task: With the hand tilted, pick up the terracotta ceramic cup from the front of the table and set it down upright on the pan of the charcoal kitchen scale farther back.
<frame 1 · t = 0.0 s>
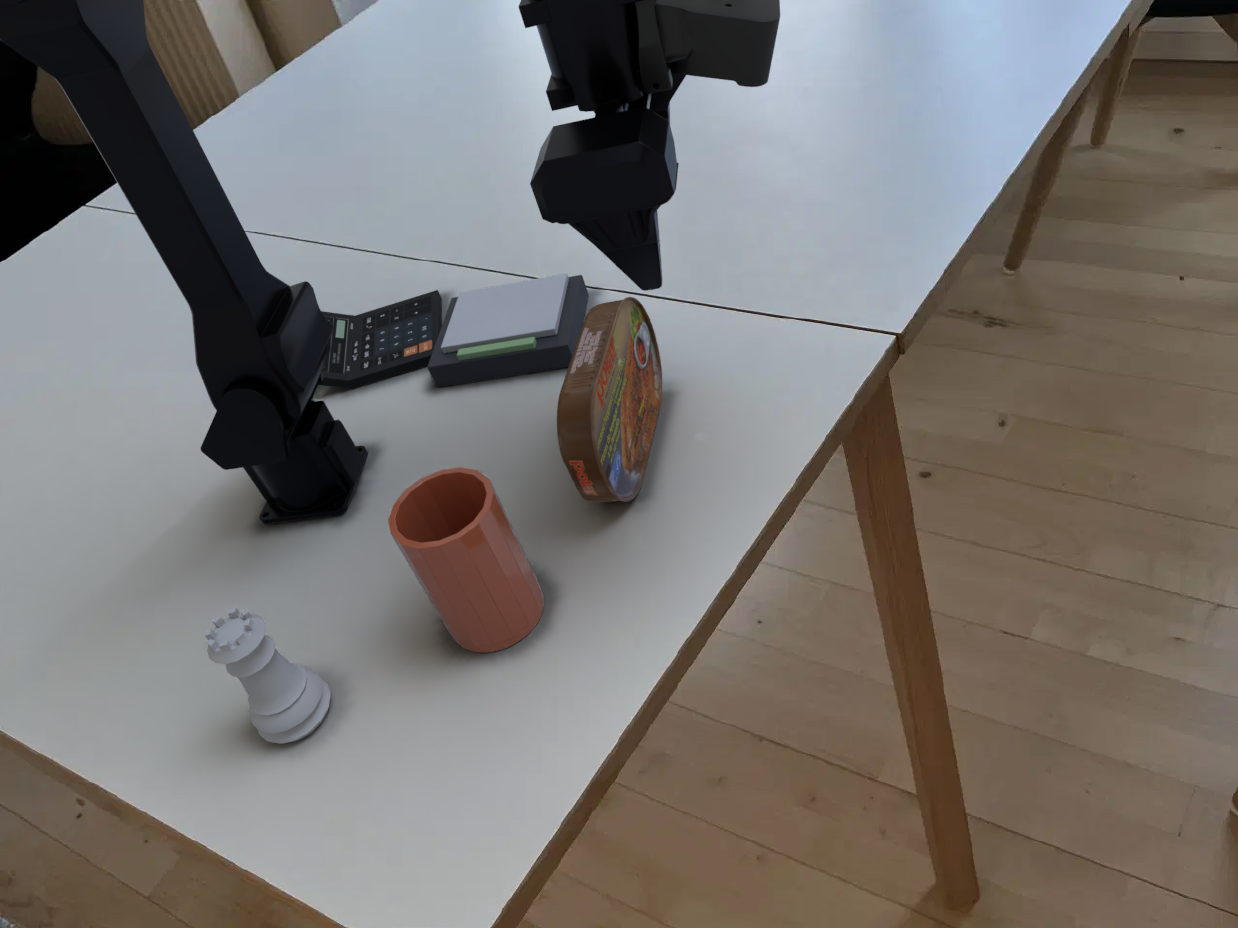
hand: (658, 240, 59), 15 cm above the table, tool pointing down, fingers open, 9 cm apart
calculator: (375, 351, 87), on the table
rook chess piece: (299, 715, 61), on the table
tin: (630, 447, 70), on the table
cup: (497, 612, 62), on the table
scale: (514, 340, 82), on the table
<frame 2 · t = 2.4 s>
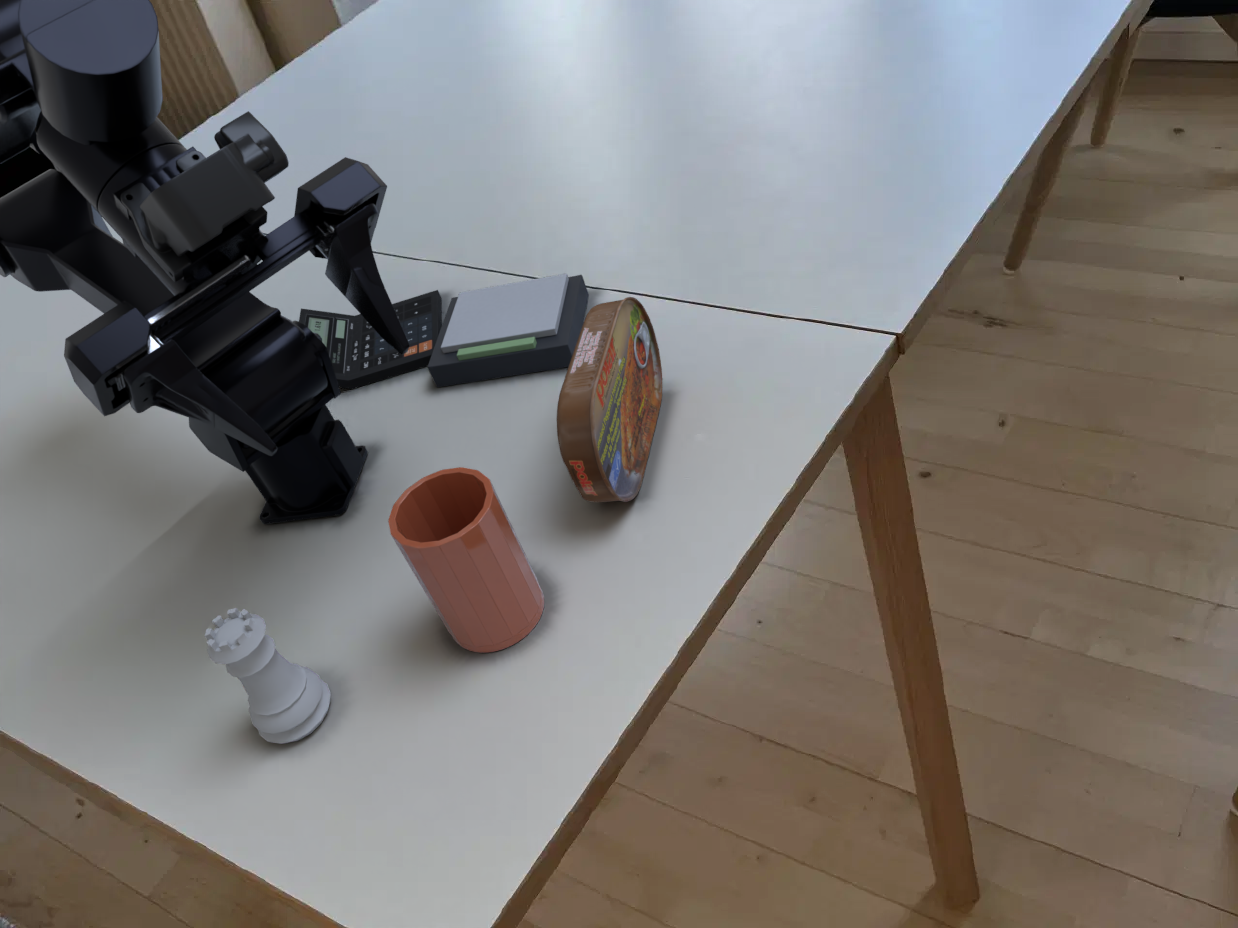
hand: (342, 399, 58), 14 cm above the table, tool tilted 45°, fingers open, 9 cm apart
nothing on the table moved.
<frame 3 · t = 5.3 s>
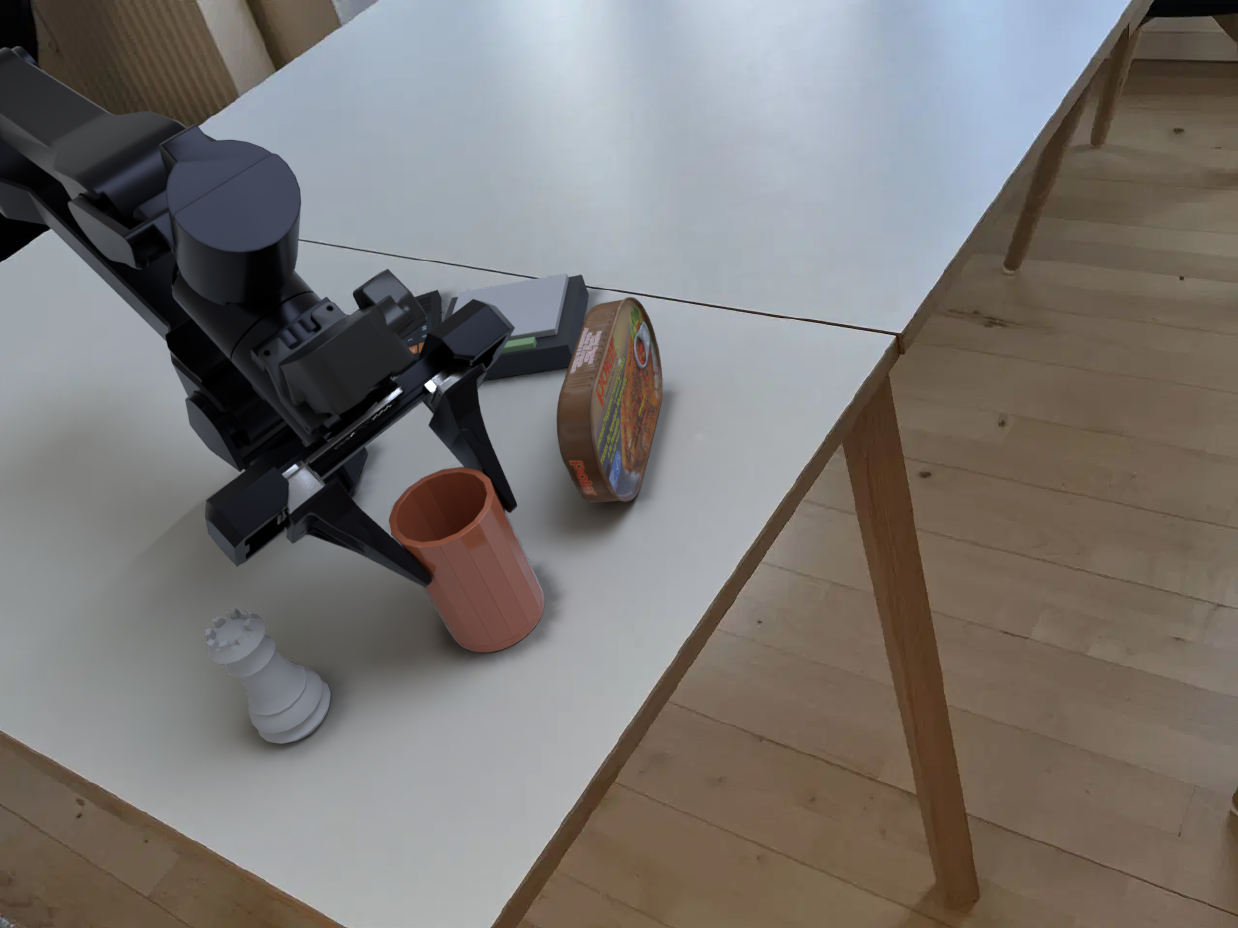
hand: (472, 546, 57), 7 cm above the table, tool tilted 45°, fingers closed on cup, 6 cm apart
cup: (497, 611, 62), on the table, touching gripper
everything else where it was.
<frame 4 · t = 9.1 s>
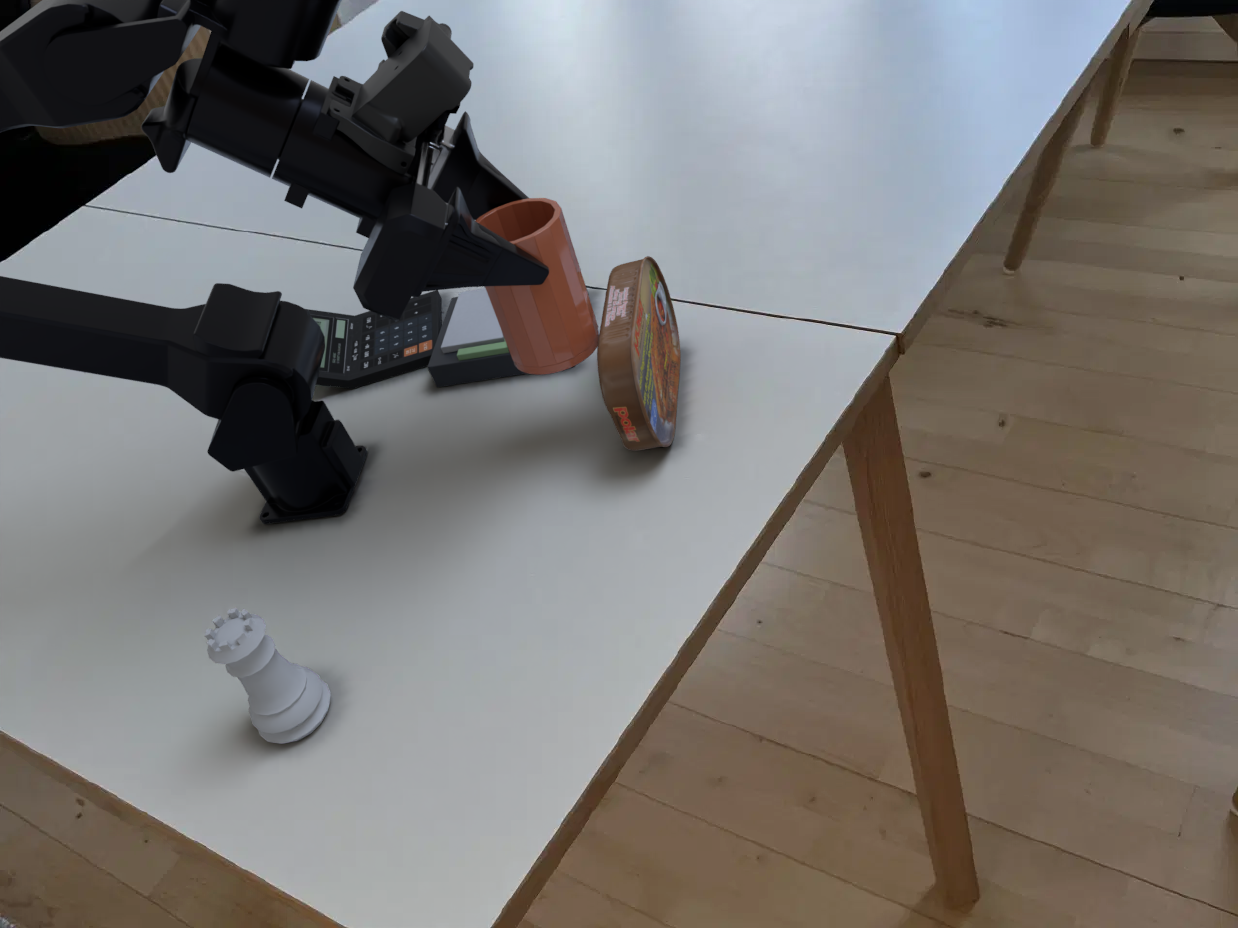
hand: (545, 249, 64), 14 cm above the table, tool tilted 45°, fingers closed on cup, 6 cm apart
tin: (656, 402, 73), on the table
cup: (556, 348, 68), point 7 cm above the table, touching gripper
everything else where it was.
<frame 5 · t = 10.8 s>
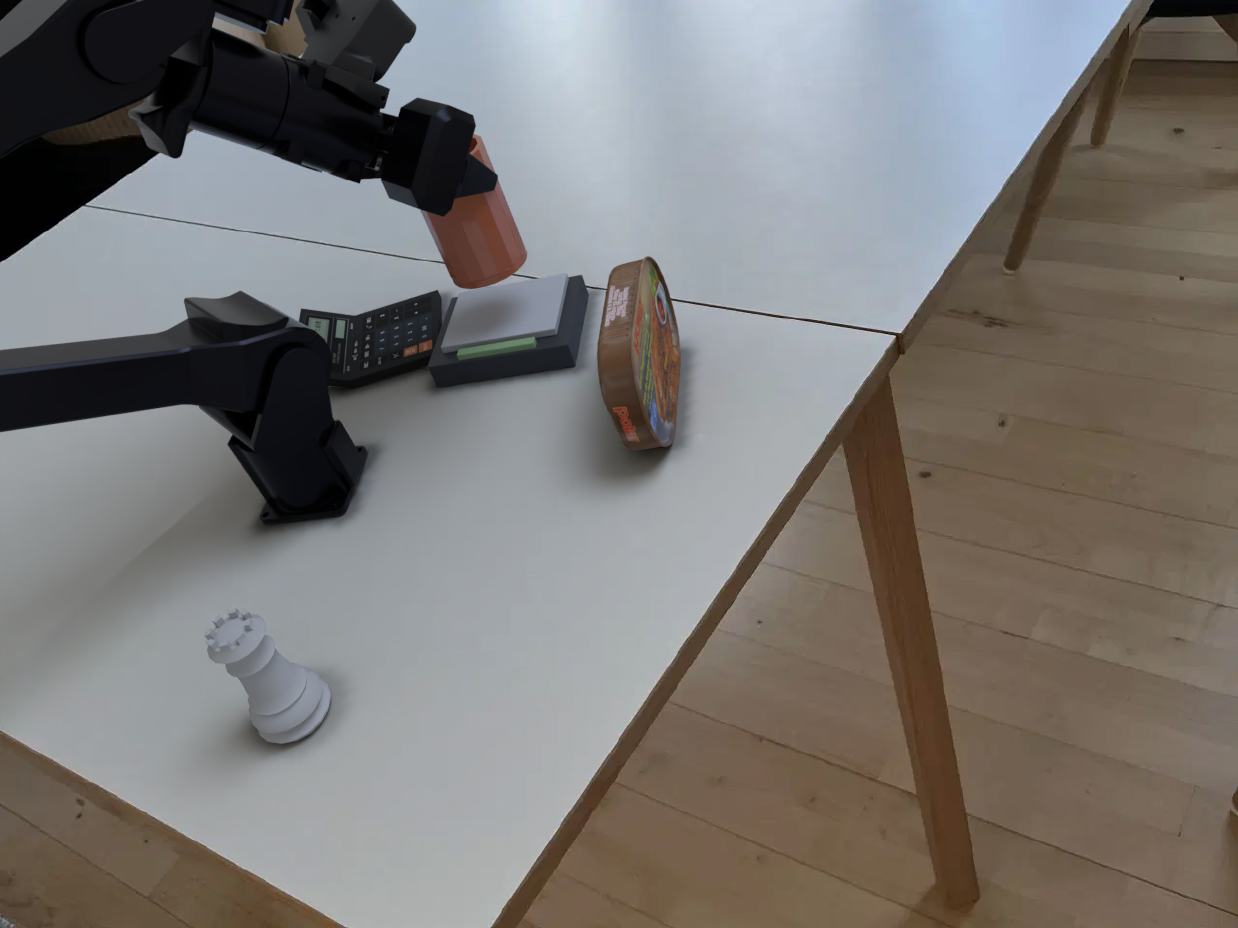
hand: (469, 174, 75), 13 cm above the table, tool tilted 45°, fingers closed on cup, 6 cm apart
cup: (490, 267, 78), point 7 cm above the table, touching gripper
everything else where it was.
when the fingers open (10 cm above the table, at t = 12.4 s): cup stays where it is, resting on scale.
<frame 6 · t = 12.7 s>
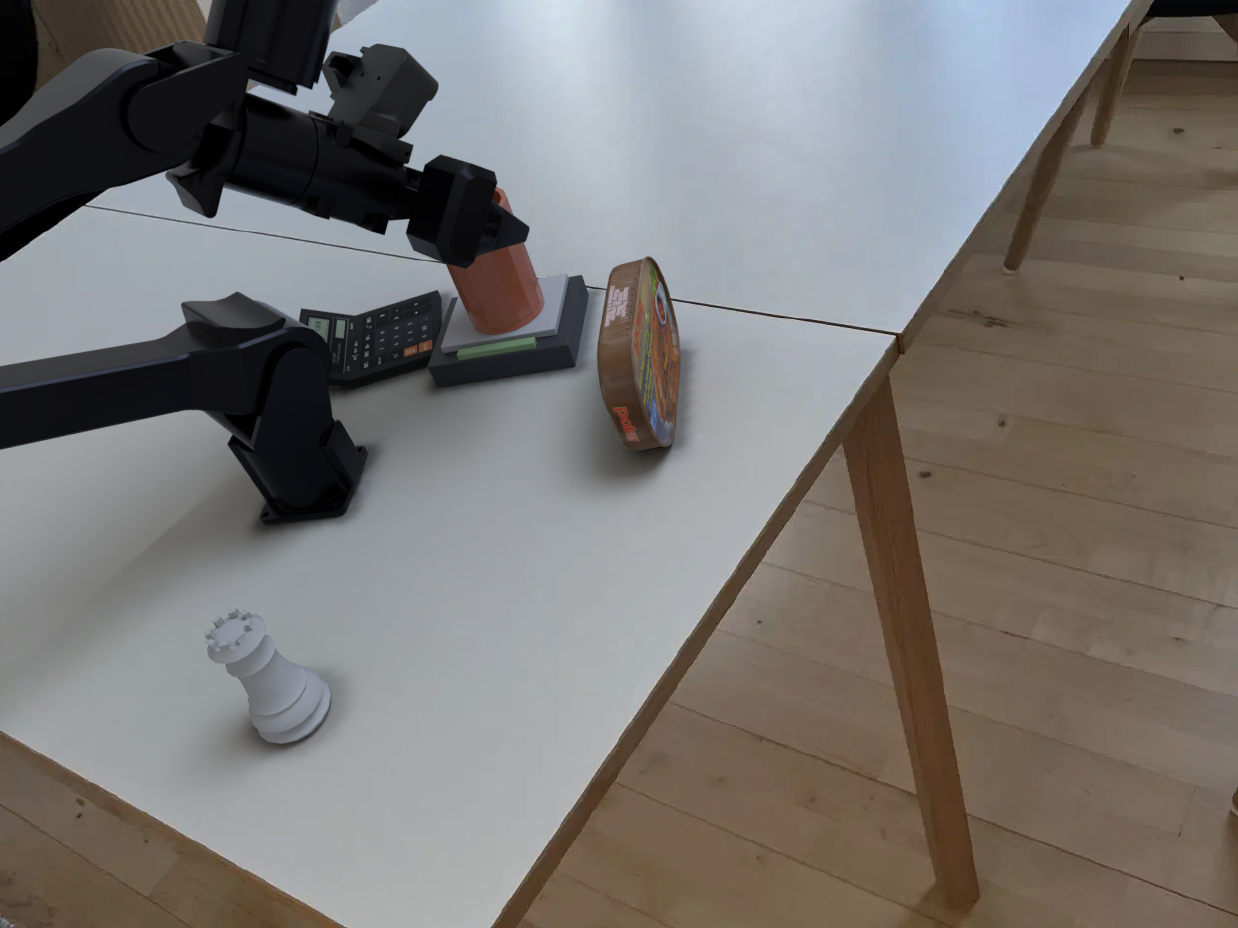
hand: (487, 220, 77), 10 cm above the table, tool tilted 45°, fingers open, 9 cm apart
cup: (508, 311, 81), point 3 cm above the table, touching scale
everything else where it was.
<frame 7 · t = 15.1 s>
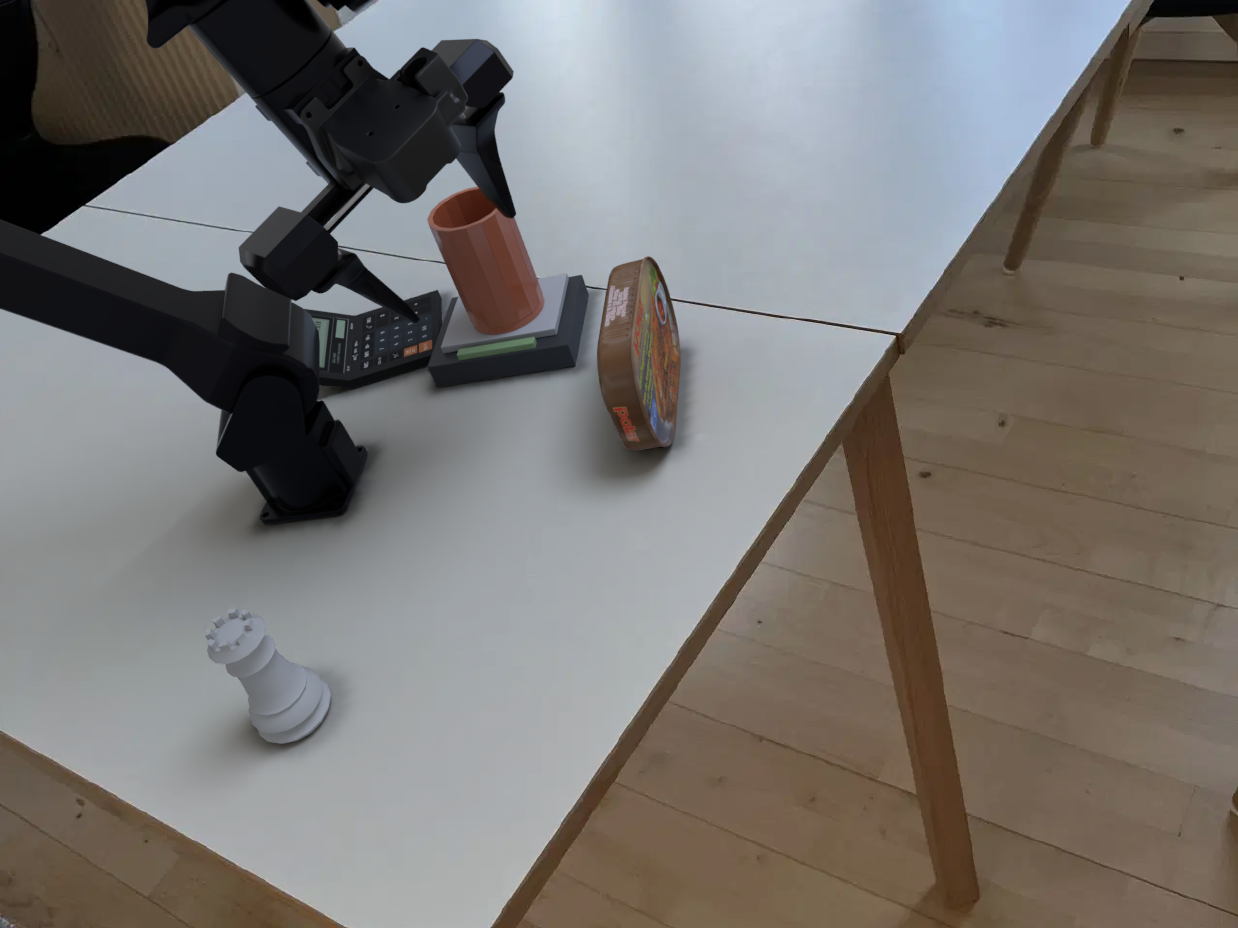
hand: (464, 268, 67), 12 cm above the table, tool tilted 15°, fingers open, 9 cm apart
nothing on the table moved.
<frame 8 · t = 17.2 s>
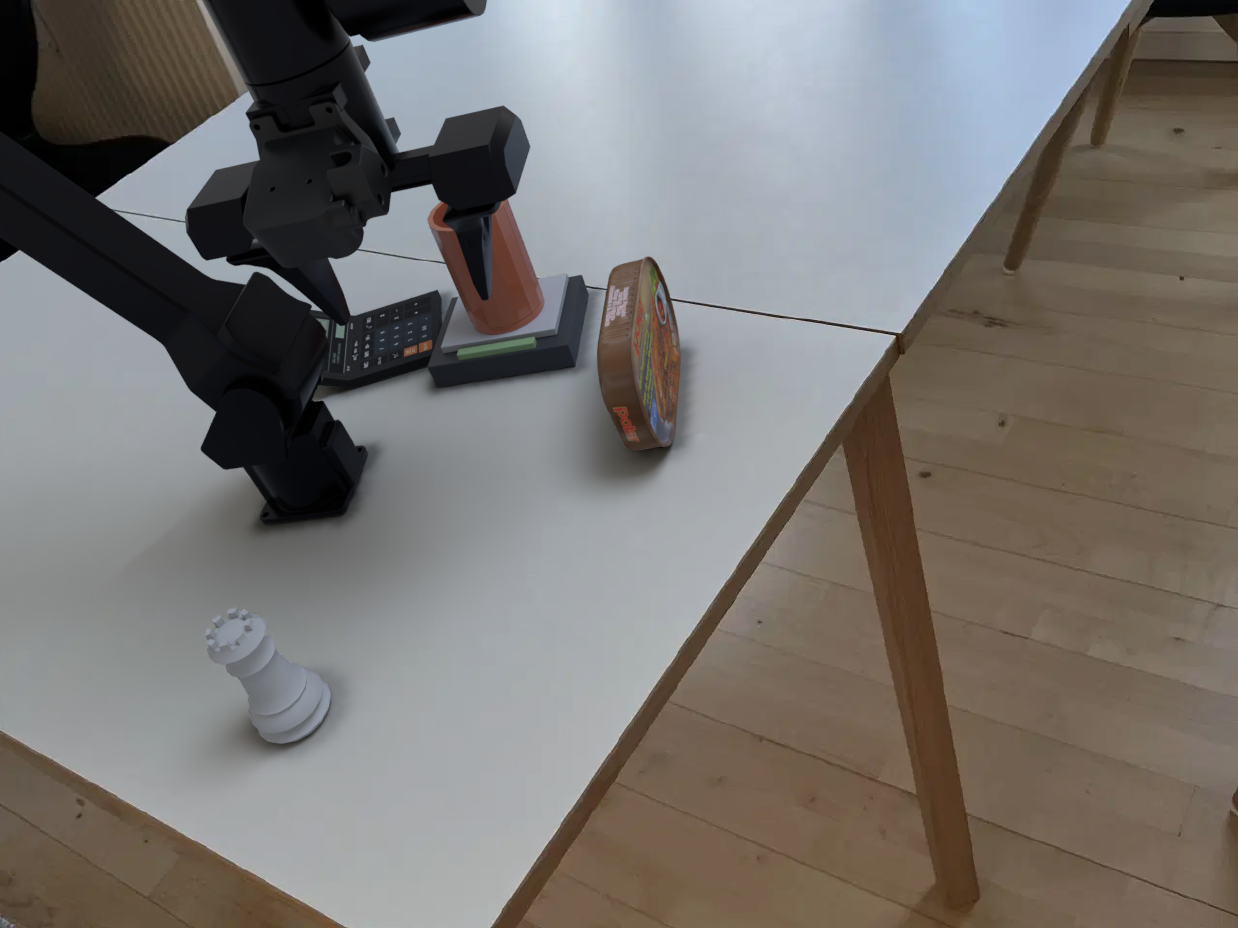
hand: (415, 309, 64), 13 cm above the table, tool pointing down, fingers open, 9 cm apart
nothing on the table moved.
at the end: cup 0.4 cm off-centre on the scale, point 2.6 cm above the scale's base; cup tilted 0°; the gripper is holding nothing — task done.
